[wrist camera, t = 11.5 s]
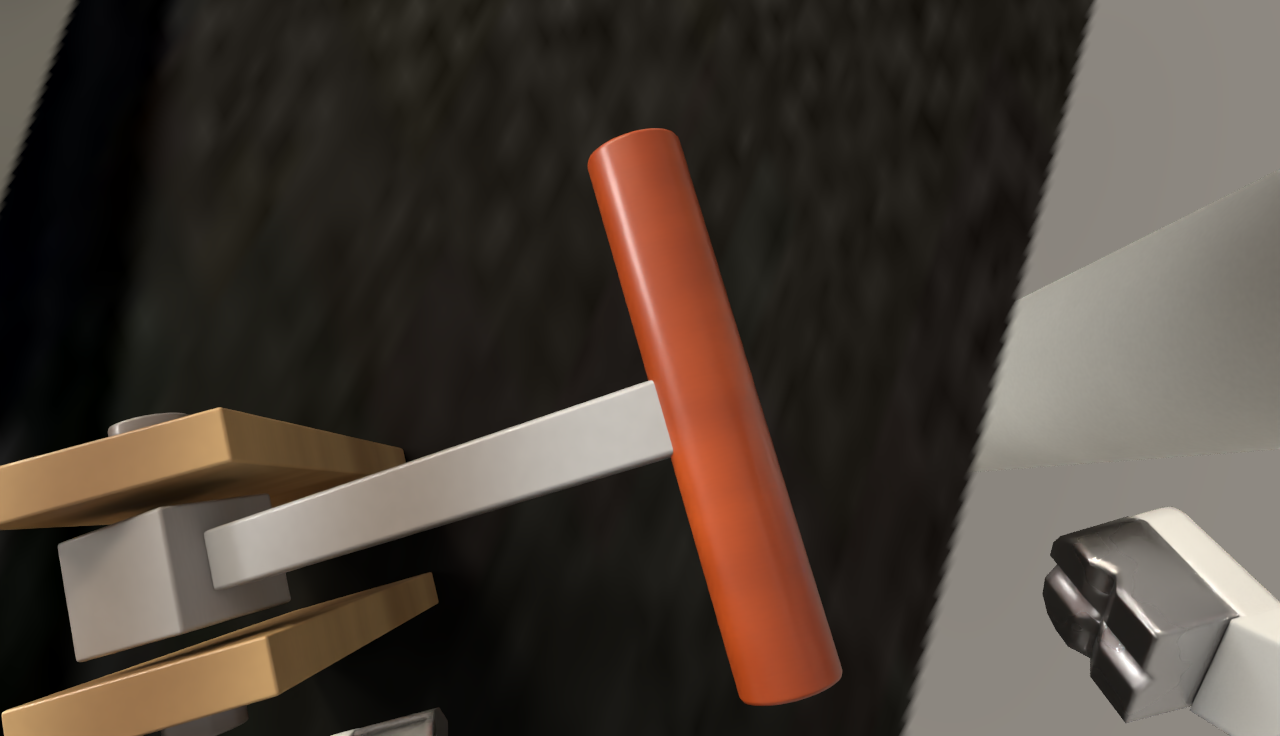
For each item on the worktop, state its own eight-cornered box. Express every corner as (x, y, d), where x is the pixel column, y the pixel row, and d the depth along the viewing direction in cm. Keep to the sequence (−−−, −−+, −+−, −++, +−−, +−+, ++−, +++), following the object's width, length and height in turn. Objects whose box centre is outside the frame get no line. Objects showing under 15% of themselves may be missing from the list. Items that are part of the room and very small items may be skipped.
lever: (699, 155, 13) (646, 103, 11) (854, 651, 12) (830, 711, 9) (150, 395, 17) (30, 393, 15) (220, 771, 16) (102, 831, 14)
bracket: (511, 368, 28) (407, 244, 14) (577, 622, 27) (532, 751, 13) (172, 460, 27) (-279, 422, 14) (222, 727, 26) (-222, 982, 12)
